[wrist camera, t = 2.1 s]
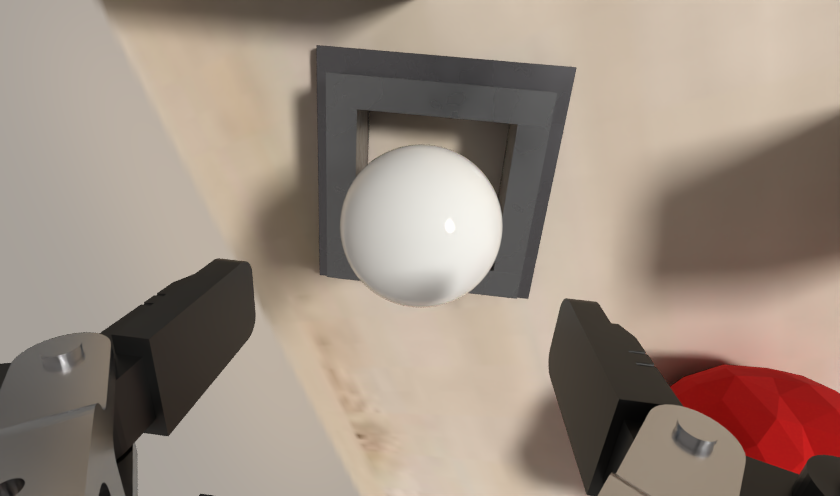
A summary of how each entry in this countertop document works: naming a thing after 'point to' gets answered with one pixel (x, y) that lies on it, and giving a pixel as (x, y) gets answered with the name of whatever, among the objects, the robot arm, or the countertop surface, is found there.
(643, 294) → the countertop surface
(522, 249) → the dark grey square frame
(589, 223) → the countertop surface
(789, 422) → the tomato
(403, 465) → the countertop surface
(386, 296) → the lightbulb
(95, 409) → the robot arm
